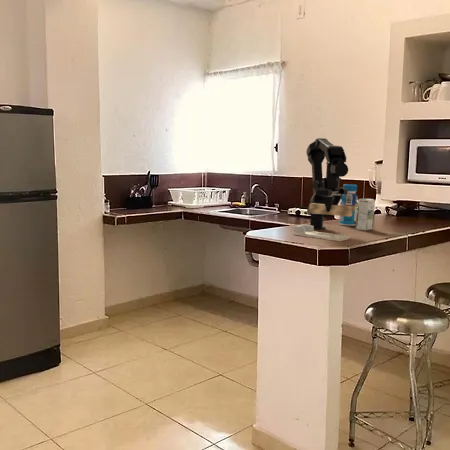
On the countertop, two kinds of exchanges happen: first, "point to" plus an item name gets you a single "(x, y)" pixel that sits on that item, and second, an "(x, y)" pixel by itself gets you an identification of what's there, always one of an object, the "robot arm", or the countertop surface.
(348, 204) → the beverage bottle
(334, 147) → the robot arm
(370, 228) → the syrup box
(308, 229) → the bracket board
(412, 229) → the countertop surface
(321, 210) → the oak rail
